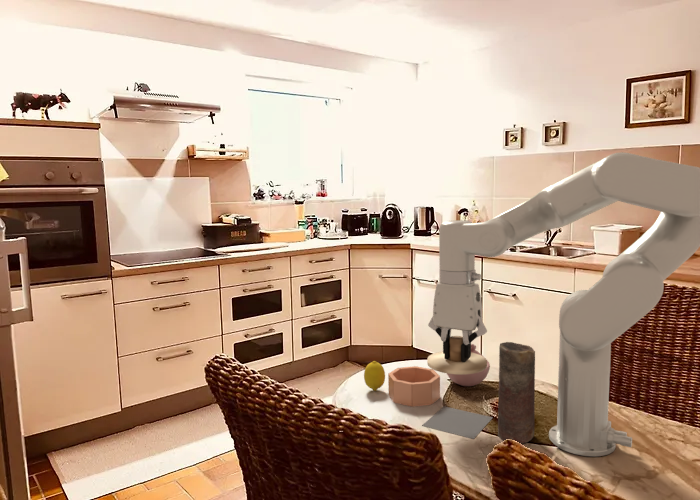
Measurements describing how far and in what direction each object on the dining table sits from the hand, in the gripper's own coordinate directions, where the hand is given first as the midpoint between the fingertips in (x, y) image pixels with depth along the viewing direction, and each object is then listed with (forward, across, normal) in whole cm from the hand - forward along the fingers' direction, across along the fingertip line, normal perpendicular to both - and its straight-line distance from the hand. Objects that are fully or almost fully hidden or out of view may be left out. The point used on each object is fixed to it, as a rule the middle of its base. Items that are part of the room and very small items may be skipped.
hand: (456, 358), depth 118 cm
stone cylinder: (+15, -13, 0) cm, 20 cm away
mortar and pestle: (+15, +6, -23) cm, 28 cm away
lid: (+1, 0, 0) cm, 1 cm away
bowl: (+15, +15, -8) cm, 22 cm away
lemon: (+15, +26, -7) cm, 31 cm away
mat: (+15, 0, 0) cm, 15 cm away
